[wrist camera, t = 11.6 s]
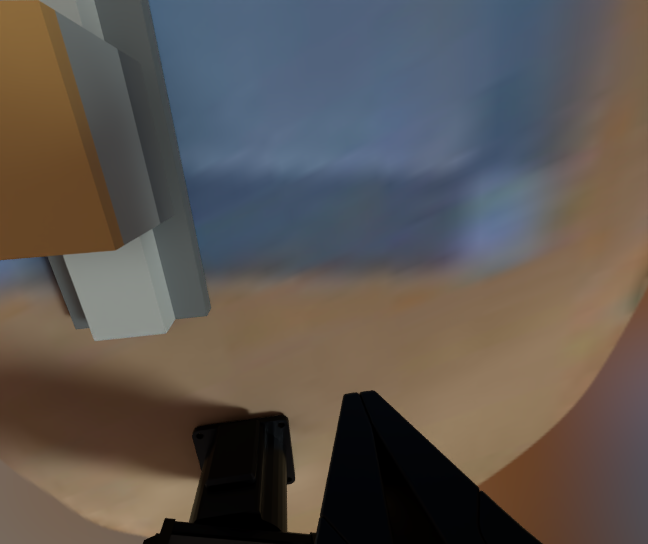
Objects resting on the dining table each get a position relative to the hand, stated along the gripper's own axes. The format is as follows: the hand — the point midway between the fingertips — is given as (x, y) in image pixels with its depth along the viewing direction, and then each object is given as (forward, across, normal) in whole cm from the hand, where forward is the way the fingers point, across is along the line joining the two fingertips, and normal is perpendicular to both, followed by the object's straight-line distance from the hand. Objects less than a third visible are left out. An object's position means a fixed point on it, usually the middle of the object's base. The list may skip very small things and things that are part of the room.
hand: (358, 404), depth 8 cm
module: (+10, +10, -7) cm, 16 cm away
